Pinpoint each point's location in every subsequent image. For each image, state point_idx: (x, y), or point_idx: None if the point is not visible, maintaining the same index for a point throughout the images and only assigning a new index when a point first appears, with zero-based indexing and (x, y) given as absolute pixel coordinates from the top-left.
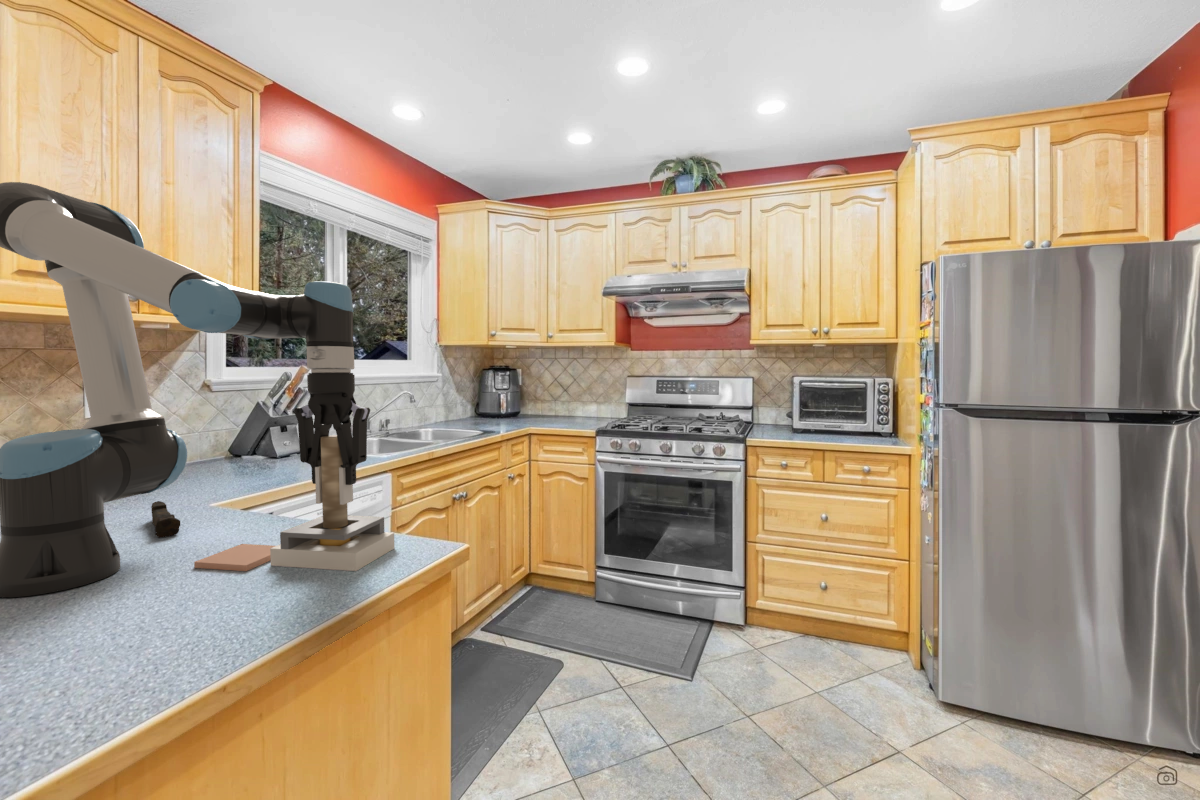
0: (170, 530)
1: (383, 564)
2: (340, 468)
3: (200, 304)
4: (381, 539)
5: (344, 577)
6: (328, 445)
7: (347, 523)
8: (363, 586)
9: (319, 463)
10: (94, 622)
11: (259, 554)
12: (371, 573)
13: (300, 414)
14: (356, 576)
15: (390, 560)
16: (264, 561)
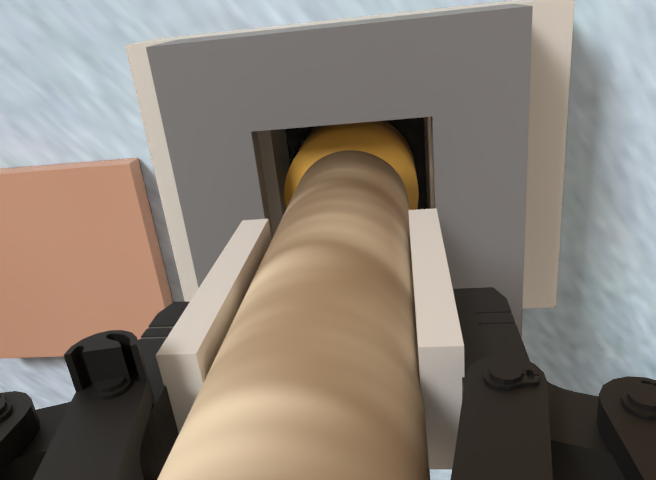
0: None
1: (606, 193)
2: (442, 465)
3: None
4: (566, 122)
5: (532, 325)
6: None
7: (403, 183)
8: (639, 372)
9: (168, 442)
10: None
11: (113, 264)
12: (607, 279)
13: None
14: (568, 311)
15: (613, 147)
16: (164, 278)
